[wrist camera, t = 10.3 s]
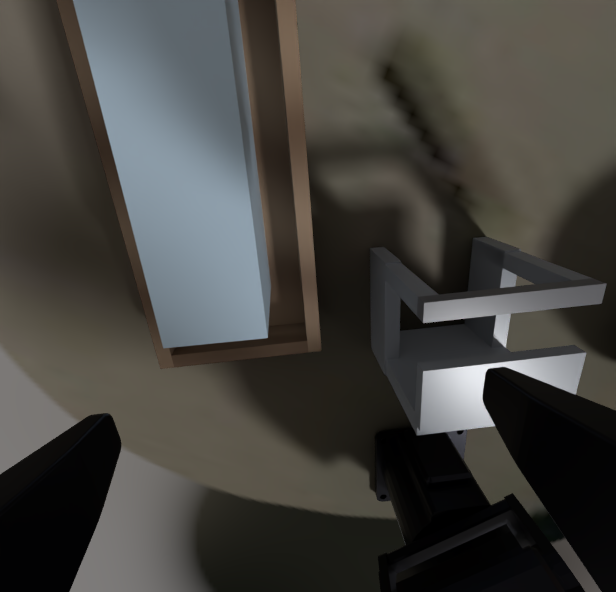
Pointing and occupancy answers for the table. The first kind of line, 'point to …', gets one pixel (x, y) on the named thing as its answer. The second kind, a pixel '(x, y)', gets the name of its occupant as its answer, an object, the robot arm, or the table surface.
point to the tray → (272, 181)
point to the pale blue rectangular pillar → (184, 160)
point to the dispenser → (469, 332)
